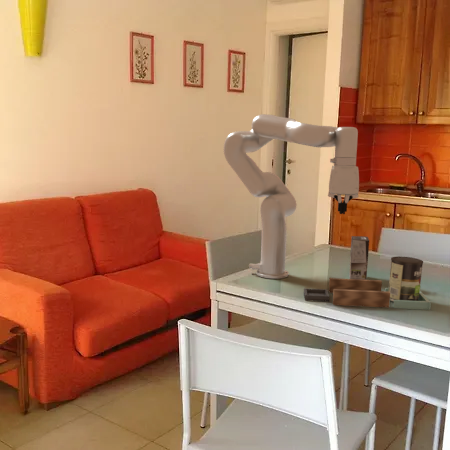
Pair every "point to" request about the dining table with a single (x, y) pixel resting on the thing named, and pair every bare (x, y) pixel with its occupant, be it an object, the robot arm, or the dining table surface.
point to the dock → (412, 303)
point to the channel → (358, 292)
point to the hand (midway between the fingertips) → (342, 213)
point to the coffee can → (405, 278)
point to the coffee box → (359, 257)
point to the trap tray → (316, 294)
